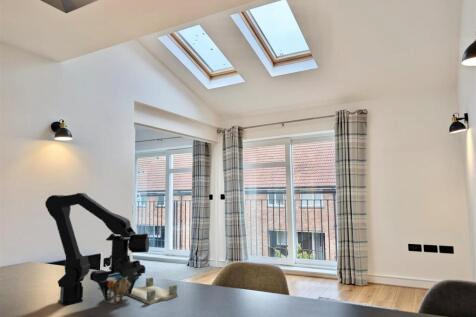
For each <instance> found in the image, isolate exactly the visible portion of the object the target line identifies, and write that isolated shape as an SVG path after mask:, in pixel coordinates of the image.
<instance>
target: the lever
mask: <svg viewBox="0 0 476 317" xmlns="http://www.w3.org/2000/svg"><path fill="white" fill-rule="evenodd" d="M109 278H113V280H118V279H120V278H123V277H122V276H121V275H115V276H110V277H109ZM126 278H127V280H128V276H127V277H126ZM139 279H140V276H139V277H138V278H137V280H139ZM107 280H108V279H107ZM108 281H109V283H108V290H109V286H110V283H111V281H112V280H110V279H109V280H108Z"/></svg>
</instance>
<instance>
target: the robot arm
mask: <svg viewBox="0 0 476 317" xmlns="http://www.w3.org/2000/svg"><path fill="white" fill-rule="evenodd" d="M44 204H45V208H46V209H47V212H48V214H49V215H50V216H51V217H52V218H53V219H54V220H55V224H56V227H57V231H58V234H59V237H60V241H61V245H62V248H63V252H64V255H65V262H64V263H65V264H64V273H65V274H64V275H63V276H62V277H61V278H59V280H57V284H58V287H59V288H60V289H59V290H60V291H59V292H60V293H59V294H60V295H59V299H58V300H57V302H58V303H60V304H61V305H62V306H67V305H71V304H76V303H81V302H83V301H84V299H83V297H84V286H83V283H82V282H83V281H84V279H85V277H86V276H88V274H89V272H90V267H91V264H90V262H89V257H88V255H84V256H83V255H82V253H81V251H80V248H79V245H78V242H77V239H76V235H75V231H74V228H73V224H72V221H71V218H70V215H71V210H72V209H71V206H72V207H73V206H76V205H79V206H80V207H82V208H84V209H85V210H86V211H87V212H89V213H90V214H92V215H93V216H95V217H96V218H97V219H99V220H101V221H102V222H103V224H104V225H105V226H106V228H107V229H108V230H109V231H111V233H110V234H109V236H108V237H107V238H106V239H105V240H106V241H108V242H110V241H111V254H110V255H109V259H111V260H110V266H109V267H108V268H109V270H108V271H106V270H105V269H104V270H103V269H99V270H92V272H90V274H89V275H90V276H89V280H90V281H92V282H94V283H97V284H98V287H99V288H100V291H101V293H102V297H103V299H104V300H105V301H107V300H108V297H109V295H108V293H109V291H108V290H109V289H108V283H109V281H108V279H109V278H111V277H110V276H115V275H121V276H122V277H127V276H128V279H127V281H129V282H130V283H131V286H130V288H129V289H128V294H131V292H132V289H133V288H134V286H135V284H136V281H137V280H138V279H137V278H138V277H139V278H140V277H141V276H142V275H143V274H145V273H146V267H145V265H144V264H141V262H140V260H139V259H138V260H137V259H136V260H131V259H130V258H131V256H130V254H129V251H130V252H131V253H133V254H134V253H137V254H138V253H149V250H150V239H149V234H148V233H136V231H135V230H134V229H133V228H132V226H131V221H130V220H129V218H126V217H125V216H122V215H119V214H117V213H114V212H111V211H110V210H109V209H108V208H106V207H104V206H103V205H101V204H100V203H98V202H97V201H96V200H94V199H93V198H91V197H90V196H88V194H86V193H85V192H77V193H75V194H67V195H63V194H60V195H59V194H54V195H50V196H48V198H46V200H45V202H44Z"/></svg>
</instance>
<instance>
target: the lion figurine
mask: <svg viewBox="0 0 476 317" xmlns="http://www.w3.org/2000/svg"><path fill="white" fill-rule="evenodd" d="M130 286H131V283H130V282H129V281H128V279H127V278H126V277H123V278H120V279H118V280H114V279H113V280H111V283H110V286H109V289H108V290H109V291H108V296H107V300H110V301H111V300H112V293H113V303H112V305H117V303H118V302H117V297H118V296H119V302H120V303H123V302H124V299H123V296H124V295H125V294H124V292H125V291H126V289H127V288H128V289H129V288H130Z"/></svg>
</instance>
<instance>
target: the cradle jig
mask: <svg viewBox="0 0 476 317" xmlns="http://www.w3.org/2000/svg"><path fill="white" fill-rule="evenodd" d="M123 295H127V296H129V297H131V298H134V299H135V300H136V299H137V300H138V301H141V302H144V303H146V304H148V305H152V304H154V303H158V302H162V301H163V302H164V301H166V300H170V299H173V298H177V297H178V285H177V284H171V285H168V289H165V288H163V287H159V286H156V285H154V277H152V276H151V277H146V278H145V285H141V286H139V287H133V289H132V292H131V294H128V288H127V289H126V291H125V292H124V294H123Z"/></svg>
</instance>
